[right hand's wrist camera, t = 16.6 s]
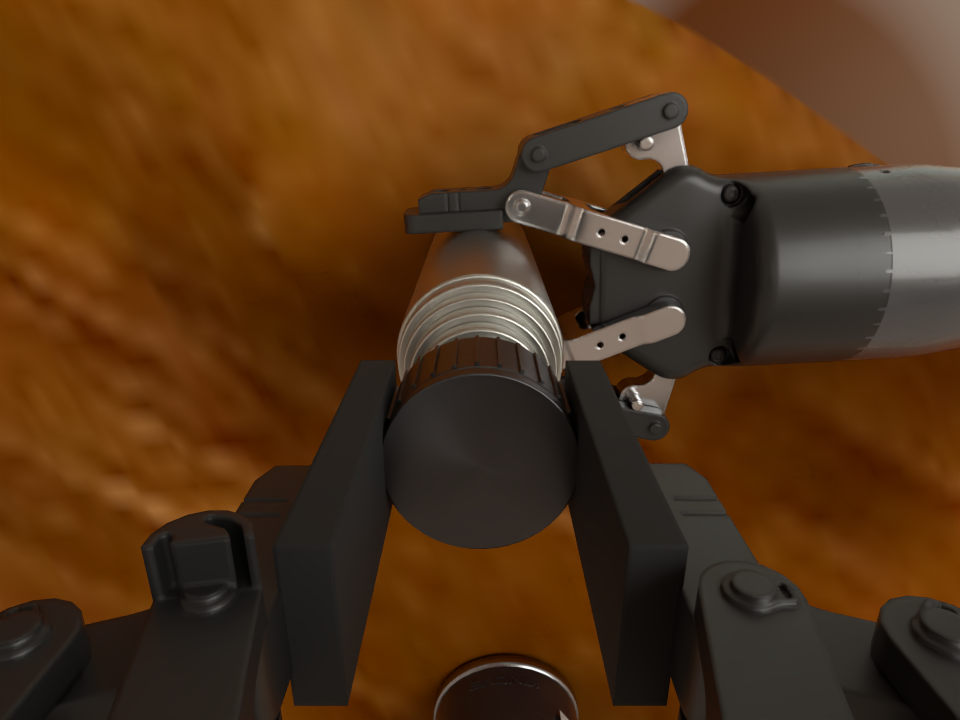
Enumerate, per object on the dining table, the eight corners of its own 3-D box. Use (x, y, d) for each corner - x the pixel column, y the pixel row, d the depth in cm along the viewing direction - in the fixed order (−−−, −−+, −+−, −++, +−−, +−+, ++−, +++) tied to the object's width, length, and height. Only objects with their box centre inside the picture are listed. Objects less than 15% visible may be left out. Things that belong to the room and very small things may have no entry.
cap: (606, 413, 14) (626, 462, 12) (484, 523, 16) (484, 584, 14) (475, 295, 13) (475, 327, 11) (355, 421, 15) (334, 470, 13)
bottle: (416, 272, 32) (327, 496, 13) (458, 185, 31) (423, 299, 12) (500, 313, 33) (527, 579, 14) (545, 230, 31) (641, 405, 13)
